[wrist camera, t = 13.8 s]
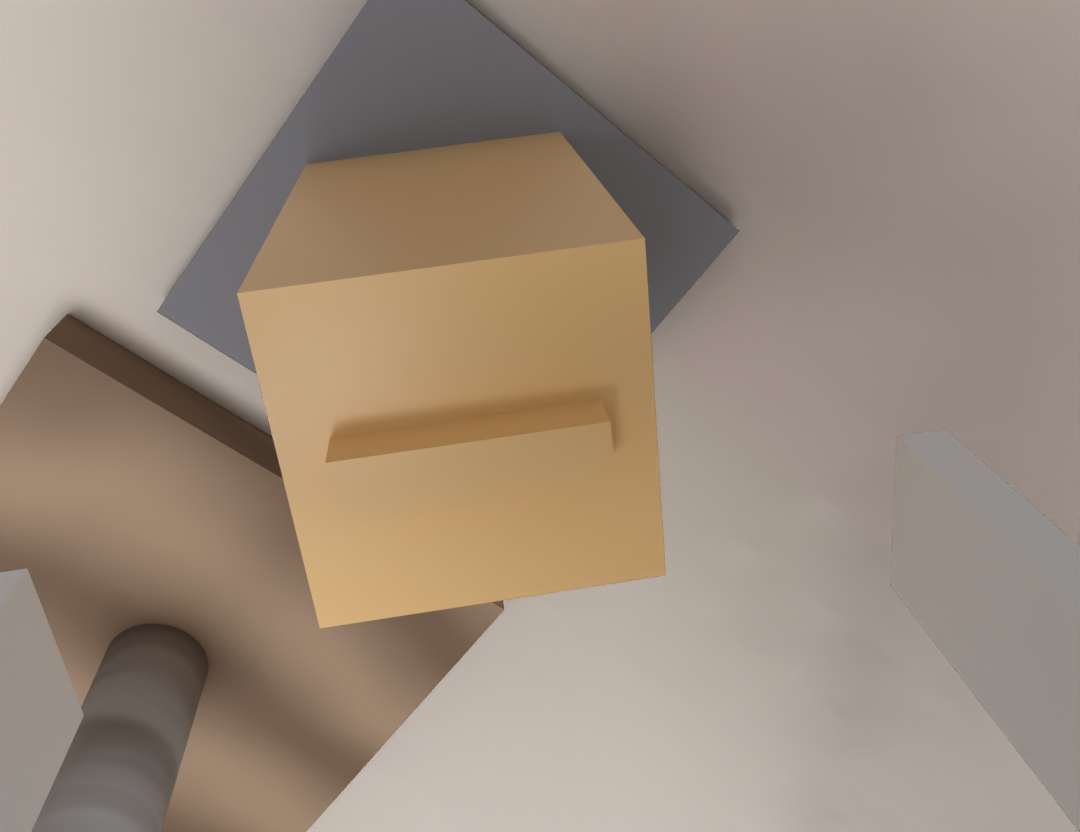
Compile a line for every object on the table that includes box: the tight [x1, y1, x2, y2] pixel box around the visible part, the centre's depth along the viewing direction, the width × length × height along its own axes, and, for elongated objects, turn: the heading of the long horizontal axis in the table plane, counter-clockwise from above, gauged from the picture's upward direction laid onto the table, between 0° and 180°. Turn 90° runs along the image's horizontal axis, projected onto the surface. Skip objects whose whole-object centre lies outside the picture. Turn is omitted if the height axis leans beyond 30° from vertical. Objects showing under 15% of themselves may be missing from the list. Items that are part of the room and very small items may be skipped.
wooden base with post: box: [0, 314, 504, 832], centre depth 29 cm, size 16×16×11 cm
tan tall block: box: [237, 132, 666, 628], centre depth 23 cm, size 7×7×12 cm
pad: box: [157, 0, 739, 374], centre depth 29 cm, size 12×12×1 cm
